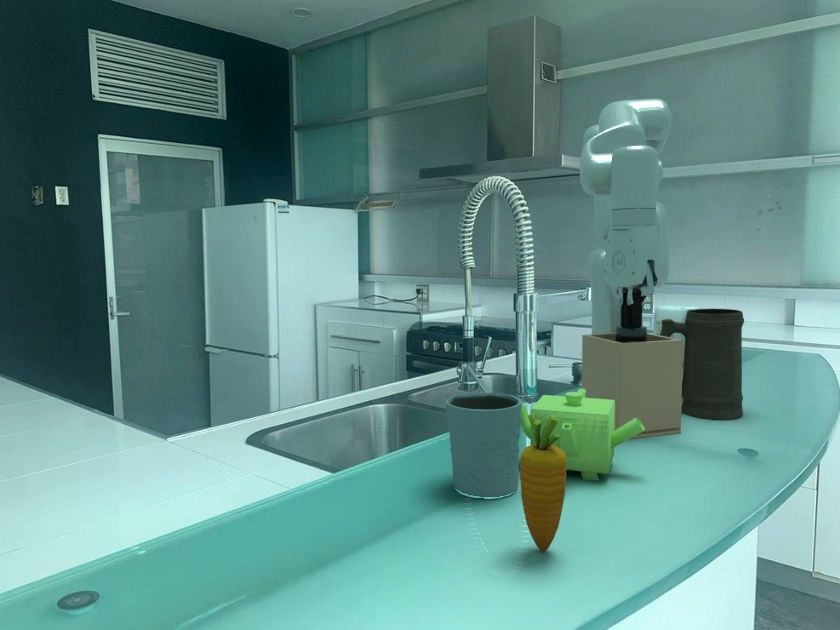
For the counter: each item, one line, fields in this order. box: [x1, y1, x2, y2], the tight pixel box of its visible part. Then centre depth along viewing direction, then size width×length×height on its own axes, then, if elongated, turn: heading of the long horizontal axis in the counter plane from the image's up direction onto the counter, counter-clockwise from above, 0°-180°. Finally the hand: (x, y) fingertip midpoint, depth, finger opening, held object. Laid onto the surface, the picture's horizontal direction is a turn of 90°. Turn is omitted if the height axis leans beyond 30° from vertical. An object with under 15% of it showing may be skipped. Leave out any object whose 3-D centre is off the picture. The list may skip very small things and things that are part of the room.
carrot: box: [519, 413, 567, 552], centre depth 67 cm, size 5×5×15 cm
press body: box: [581, 332, 683, 440], centre depth 114 cm, size 14×12×16 cm
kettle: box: [520, 388, 645, 481], centre depth 92 cm, size 15×14×11 cm
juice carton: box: [652, 304, 701, 401], centre depth 135 cm, size 8×9×19 cm
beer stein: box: [660, 308, 745, 421], centre depth 121 cm, size 15×11×20 cm
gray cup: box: [445, 392, 523, 497], centre depth 86 cm, size 10×10×12 cm
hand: (631, 327), depth 111 cm, fingers closed
